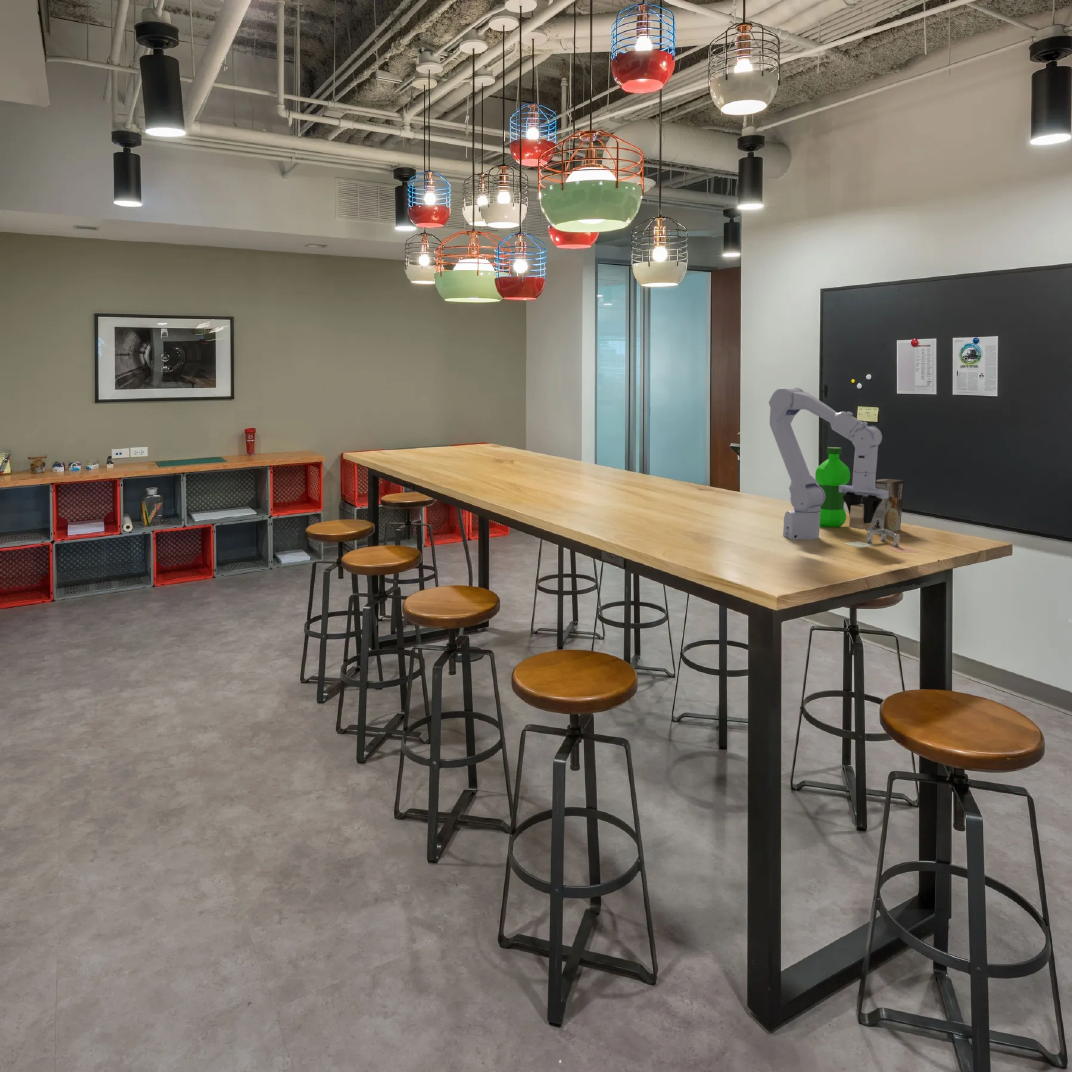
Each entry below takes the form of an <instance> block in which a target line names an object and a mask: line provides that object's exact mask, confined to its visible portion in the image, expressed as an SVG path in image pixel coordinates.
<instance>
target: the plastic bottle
mask: <svg viewBox="0 0 1072 1072" xmlns="http://www.w3.org/2000/svg"><path fill="white" fill-rule="evenodd" d="M826 454H827V455H828V458H827V459H826V460H824V461H823V462H822V463H820V465H818V466H817V468H816V470H815V477H814V479H816V480H817V483H818V485H819V486H820V487H821V488H822V489H823V490H824V492H825V501H824V503H823V504H822V505H821V507H820V508H821V511H820V527H819V528H841V527H842V526H843V525H844V524H845V523H846V521H847V513H846V510H845V508H844V507H845V500H844V499H843V495H846V493H844V492H843V493H841V492H839V485H847V484H848V483H850V479H851V471H850V468H849V467H848V466H847V465H846V464H845V463H844V462H843V461H842V460H841V459H840V455H842V447H839V446H838V447H835V446H833V447H831V446H827V447H826Z"/></svg>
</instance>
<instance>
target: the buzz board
mask: <svg viewBox="0 0 1072 1072" xmlns="http://www.w3.org/2000/svg"><path fill="white" fill-rule="evenodd" d="M843 544H844V545H847V546H853V547H856V548H857V547H858V548H866V547H867V548H868V547H873V546H876V544H873V543H871V544H868V543H866V542H862V541H853V542H852V541H851V542H845V543H843ZM887 549H889V550H891V551H894V552H895V553H919V551H918V550H917V549H913V548H911V547H909V546H907V547H906V546H905V547H904V546H903V547H901V546H899V547H893V546H892V547H889V546H888V547H887Z"/></svg>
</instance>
